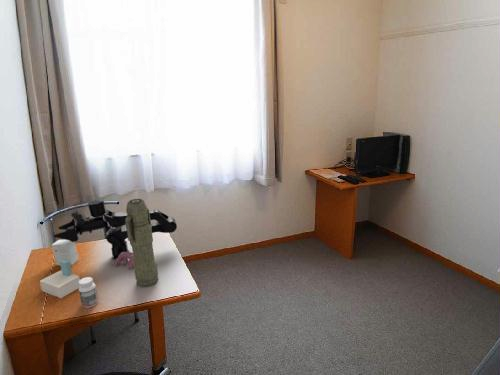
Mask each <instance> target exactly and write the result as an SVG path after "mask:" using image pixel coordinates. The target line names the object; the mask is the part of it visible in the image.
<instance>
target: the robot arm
mask: <svg viewBox="0 0 500 375" xmlns="http://www.w3.org/2000/svg"><path fill="white" fill-rule="evenodd" d="M87 207H88V211H89V214H90V216H91V217H92V218H91V217H90V216H87V217H86V215H85V213H84V212H83V211H82V210H81V208H79V207H78V208H76V209H74V210H73V211H72V212H71V213H70V216H71V217H72V219H71V220H70V221H69V222H67V223H64V224H62V225H60V226H58V230H62V231H61V232H58V233H57V232H56V233H54V234H53V237H54V238H55V239H60V240H70V241H72V242H75V243H76V242H78V240H79V239H80V236H81V235H83V234H85V233H90V234H91V233H93V232H95V231H98V230H99V231H100V230H102V229H104V230H105V231H104V232H105V233H107V234H106V241H107V242H108V243H109V244H111V248H110V249H111V255H112V256H113V257H112V258H113V260H117V258H118V256H119V254H121V252H130V249H129V248H128V240H127V239H128V235H127V229H126V227H123V226H126V223H125V220H126V217H127V212H123V211H112V210H109V209H106V205H105V200H92V201H90V202H87ZM149 213H150V220H151V221H156V222H151V228H152V234H153V233H162V234H163V233H164V234H169V233H170V234H171V233H174V232H176V231H177V229H178V228H177V227H178V225H177V222H176V221H177V220H176V219H175V218H174V217H173V216H169V215H167V214H166V213H164V212H162V211H160V210H159V209H154V210H149Z"/></svg>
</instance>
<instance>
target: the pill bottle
mask: <svg viewBox="0 0 500 375" xmlns="http://www.w3.org/2000/svg"><path fill="white" fill-rule="evenodd" d="M79 286H80V287H79V288H78V293H79V297H80V302H81V306H82V307H83V308H86V309H87V308H92V307H94V306H96V305H97V304H98V303H99V296H98V292H97V286H96V284H95V282H94V280H93V278H92V277H90V276H86V277H82V278H80V281H79Z"/></svg>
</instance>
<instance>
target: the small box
mask: <svg viewBox="0 0 500 375" xmlns="http://www.w3.org/2000/svg"><path fill="white" fill-rule="evenodd" d="M51 249H52V253H53V257H54V260H55V264H56V266H60V261H62V260H64V259H65V260H68V261H70V265H71V266H73V265H74V264H75V263H76V262H77V261H79V255H78V250H77V246H76V242H72V241H70V240H66V239H58V240H56V241H55V242H54V243H52V244H51Z"/></svg>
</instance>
